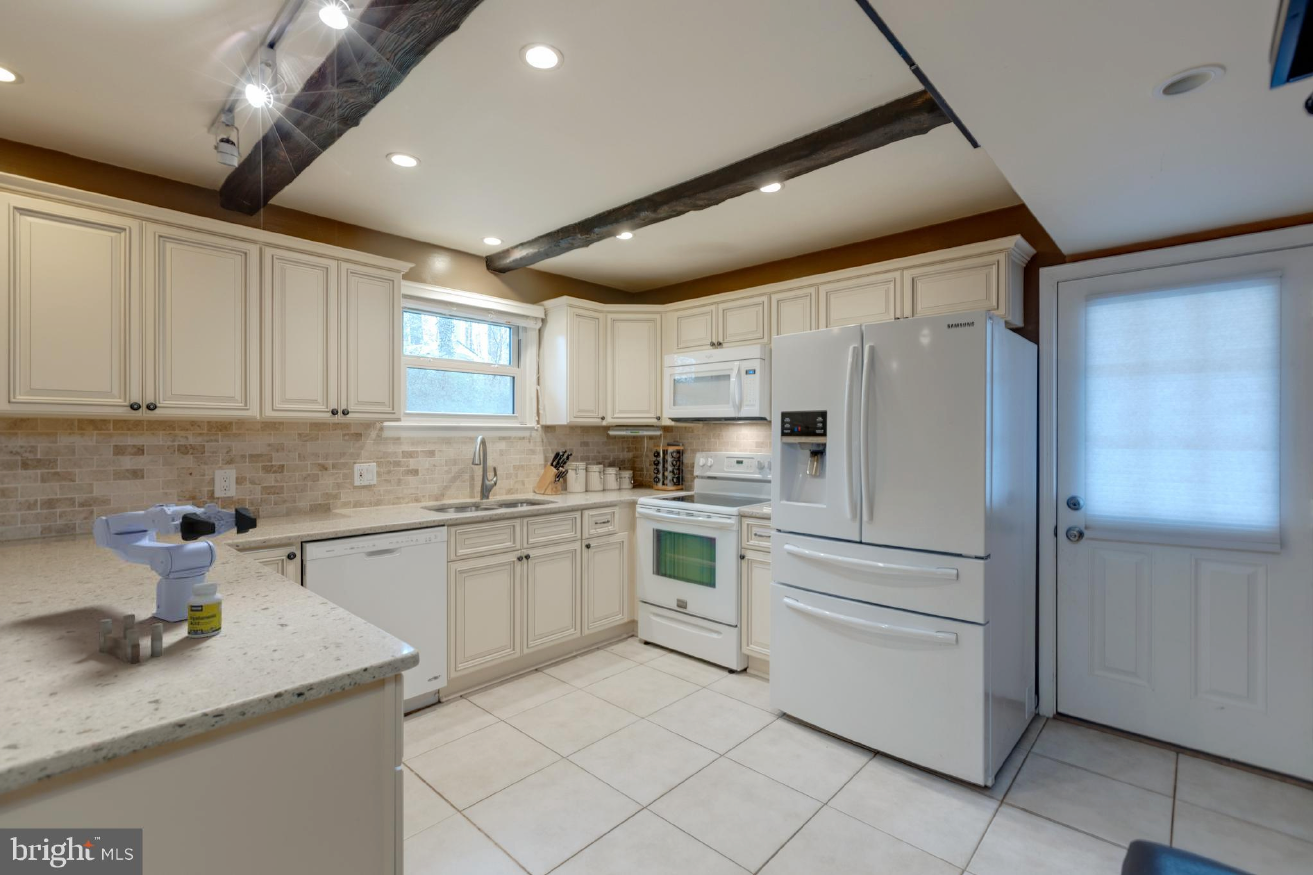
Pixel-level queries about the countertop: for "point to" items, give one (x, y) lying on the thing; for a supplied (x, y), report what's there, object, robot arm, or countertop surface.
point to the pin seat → (128, 640)
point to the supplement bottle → (204, 611)
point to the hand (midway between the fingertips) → (234, 525)
